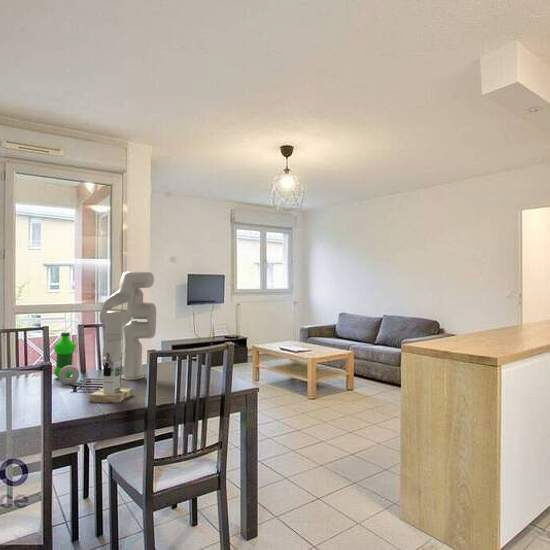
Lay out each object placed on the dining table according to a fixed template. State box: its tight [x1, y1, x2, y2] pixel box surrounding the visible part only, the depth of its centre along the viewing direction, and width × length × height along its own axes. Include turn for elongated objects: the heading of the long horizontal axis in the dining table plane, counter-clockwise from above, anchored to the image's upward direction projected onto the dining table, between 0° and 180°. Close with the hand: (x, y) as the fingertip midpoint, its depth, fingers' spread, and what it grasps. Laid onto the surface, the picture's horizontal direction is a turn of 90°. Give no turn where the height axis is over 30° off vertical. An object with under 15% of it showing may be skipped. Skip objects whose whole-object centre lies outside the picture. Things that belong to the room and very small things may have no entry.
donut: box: [58, 365, 80, 385], centre depth 218 cm, size 10×4×10 cm, turn 98°
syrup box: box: [102, 359, 122, 393], centre depth 196 cm, size 6×6×14 cm
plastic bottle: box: [53, 331, 76, 379], centre depth 232 cm, size 10×10×25 cm
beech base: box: [88, 387, 134, 404], centre depth 196 cm, size 14×14×3 cm
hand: (112, 373), depth 196 cm, fingers open, 9 cm apart
